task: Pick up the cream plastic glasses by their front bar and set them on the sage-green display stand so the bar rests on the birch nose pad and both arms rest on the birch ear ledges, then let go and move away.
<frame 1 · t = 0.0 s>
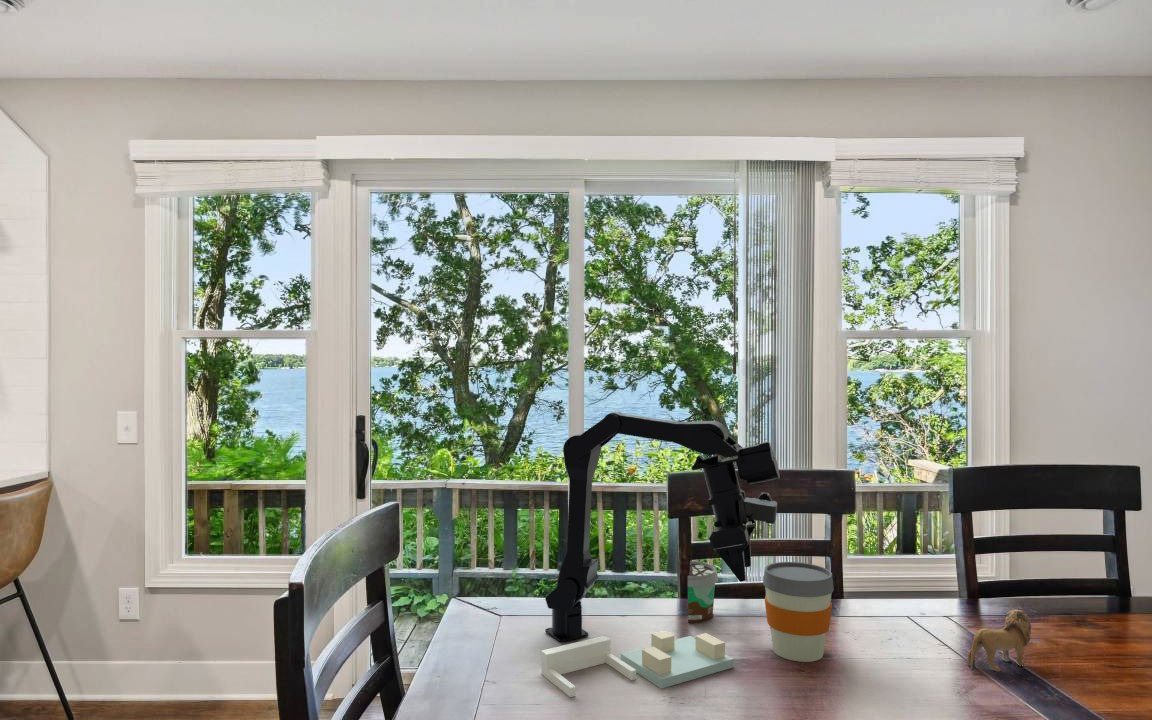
hand: (745, 573, 129), 15 cm above the table, tool pointing down, fingers open, 9 cm apart
lion figurine: (999, 665, 127), on the table
food container: (703, 617, 150), on the table
reusable coffee cup: (797, 652, 132), on the table
display stand: (676, 664, 126), on the table
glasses: (576, 667, 125), on the table
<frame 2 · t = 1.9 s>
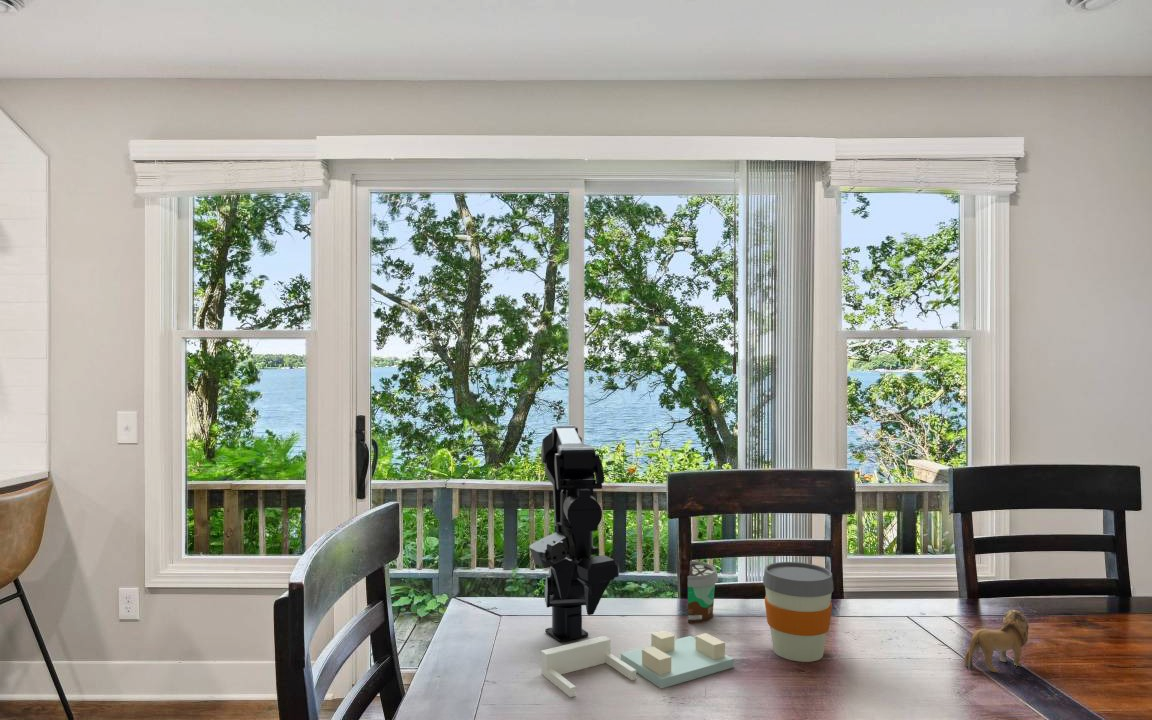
hand: (576, 606, 125), 11 cm above the table, tool pointing down, fingers open, 9 cm apart
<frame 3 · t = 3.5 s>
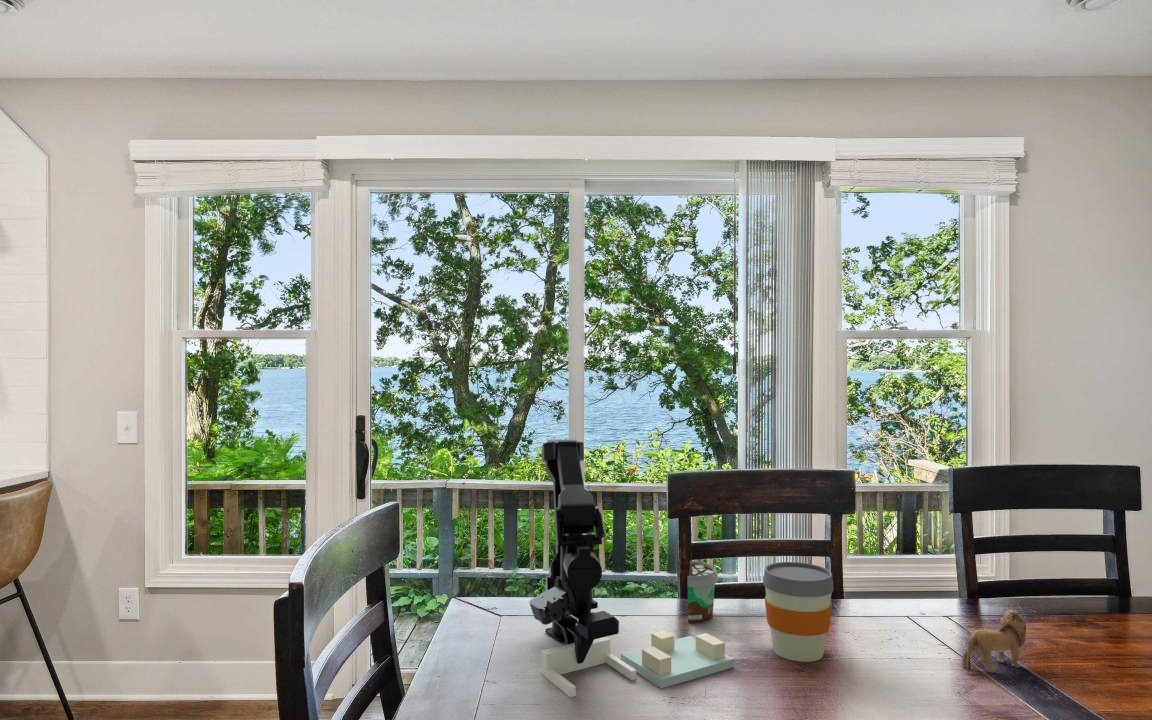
hand: (576, 660, 125), 1 cm above the table, tool pointing down, fingers closed on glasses, 2 cm apart
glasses: (576, 667, 125), on the table, touching gripper
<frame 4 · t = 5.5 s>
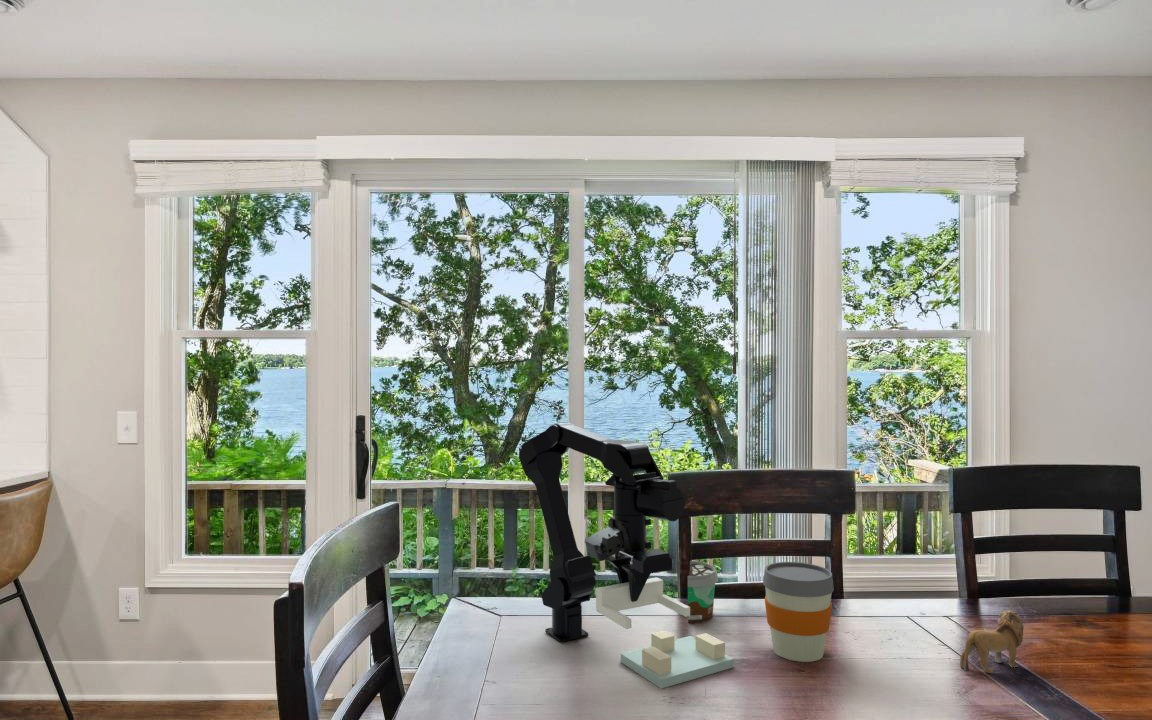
hand: (630, 599, 128), 11 cm above the table, tool pointing down, fingers closed on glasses
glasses: (630, 606, 127), point 10 cm above the table, touching gripper
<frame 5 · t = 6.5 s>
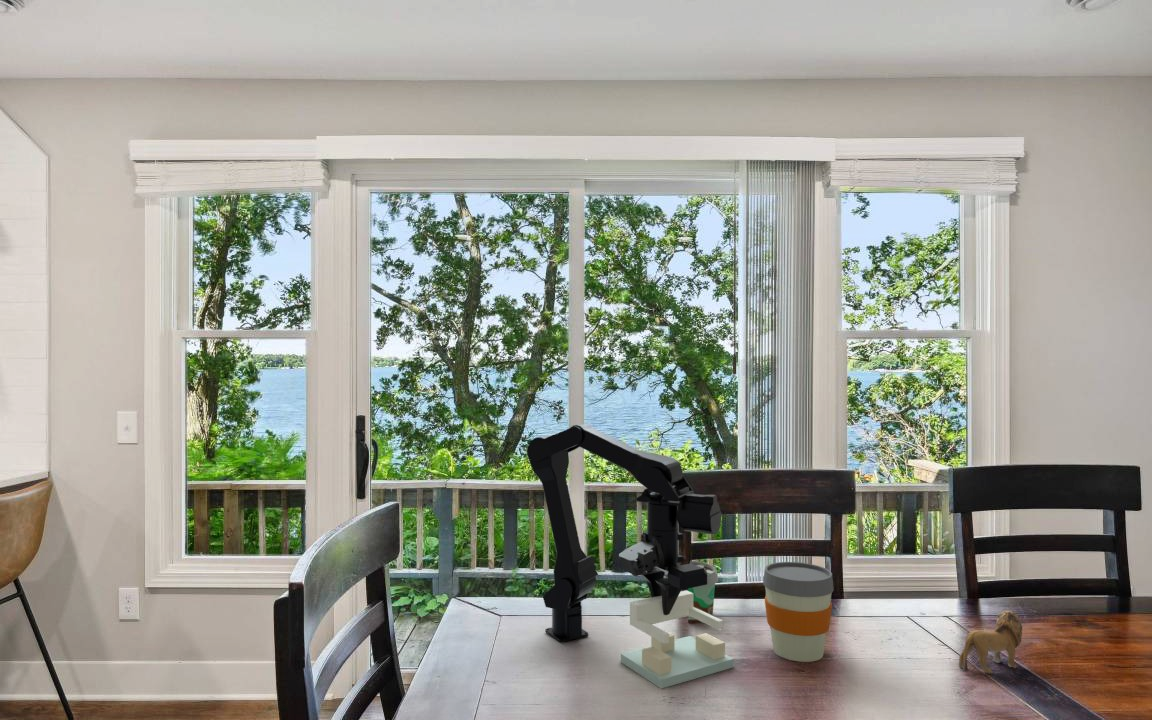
hand: (662, 612, 130), 8 cm above the table, tool pointing down, fingers closed on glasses
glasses: (662, 619, 130), point 7 cm above the table, touching gripper
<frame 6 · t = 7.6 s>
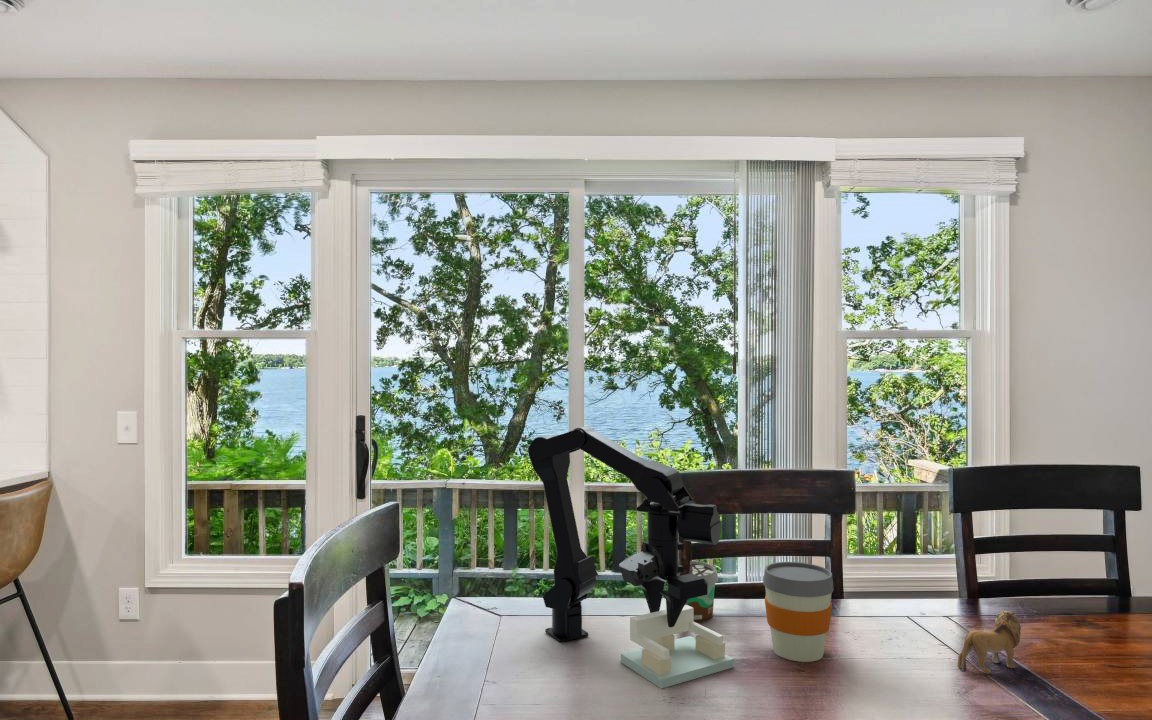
hand: (662, 622, 130), 6 cm above the table, tool pointing down, fingers open, 5 cm apart
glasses: (662, 634, 130), point 4 cm above the table, touching display stand
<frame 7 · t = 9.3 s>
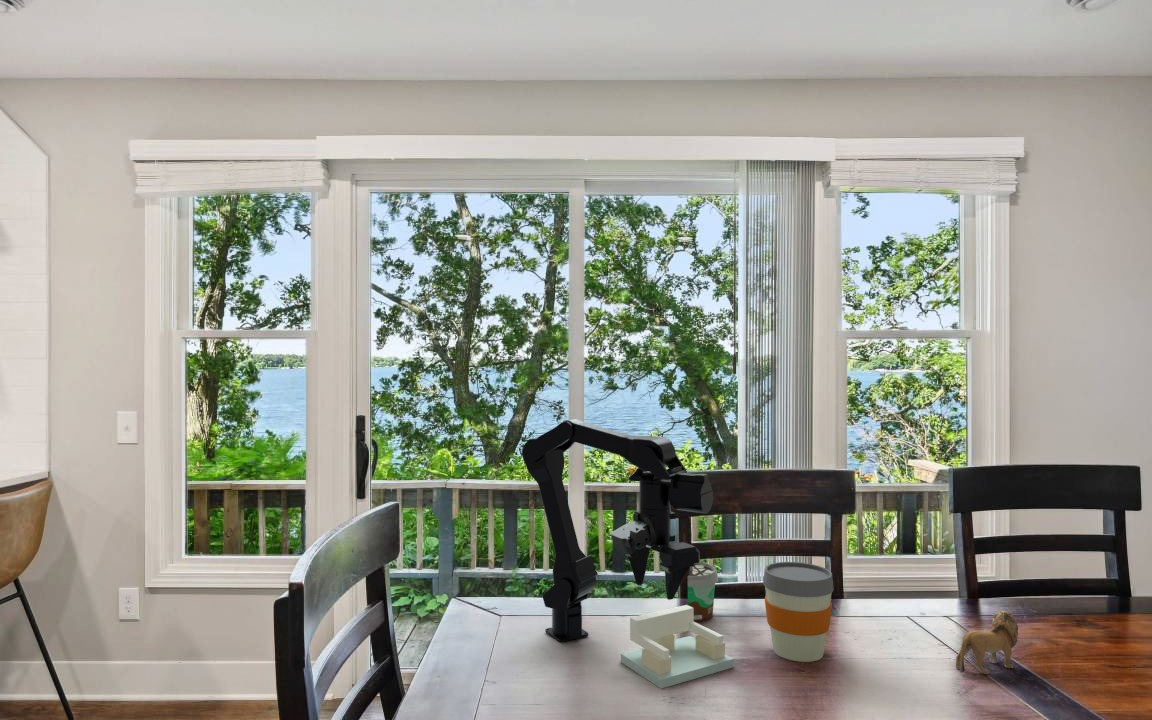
hand: (654, 591, 130), 12 cm above the table, tool pointing down, fingers open, 9 cm apart
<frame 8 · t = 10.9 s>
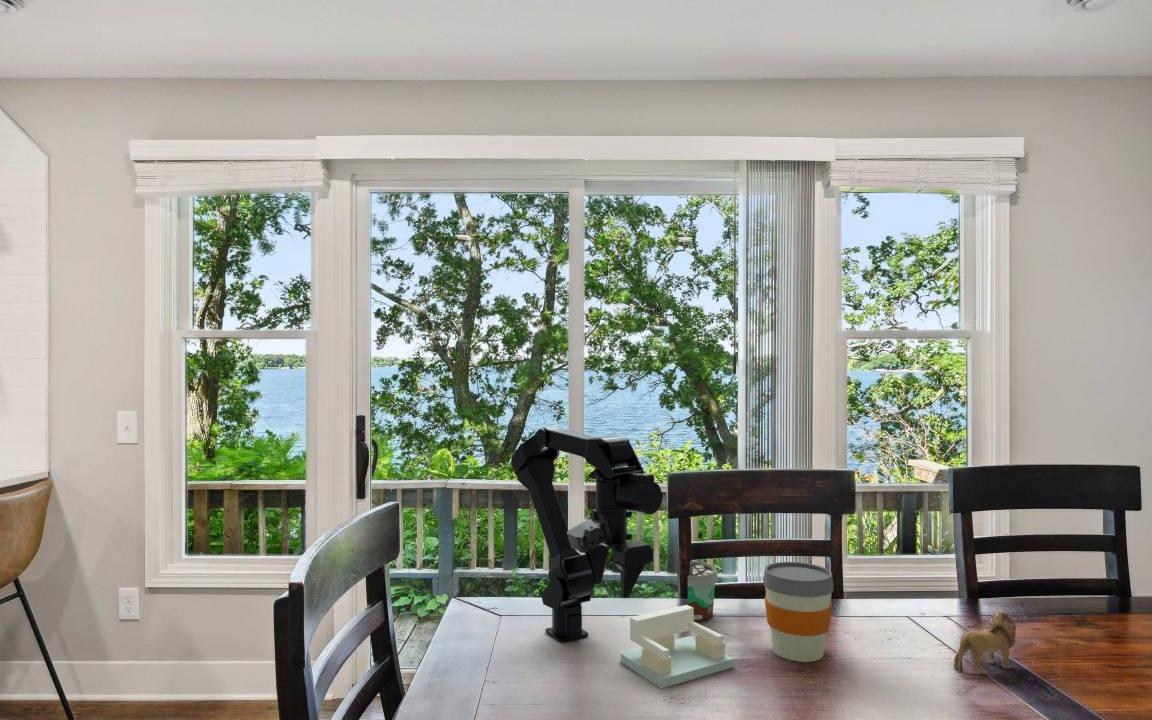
hand: (611, 590, 130), 12 cm above the table, tool pointing down, fingers open, 9 cm apart
at the end: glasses 0.1 cm from the target spot on the display stand, point 4.0 cm above the display stand's base; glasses tilted 0°; the gripper is holding nothing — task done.
